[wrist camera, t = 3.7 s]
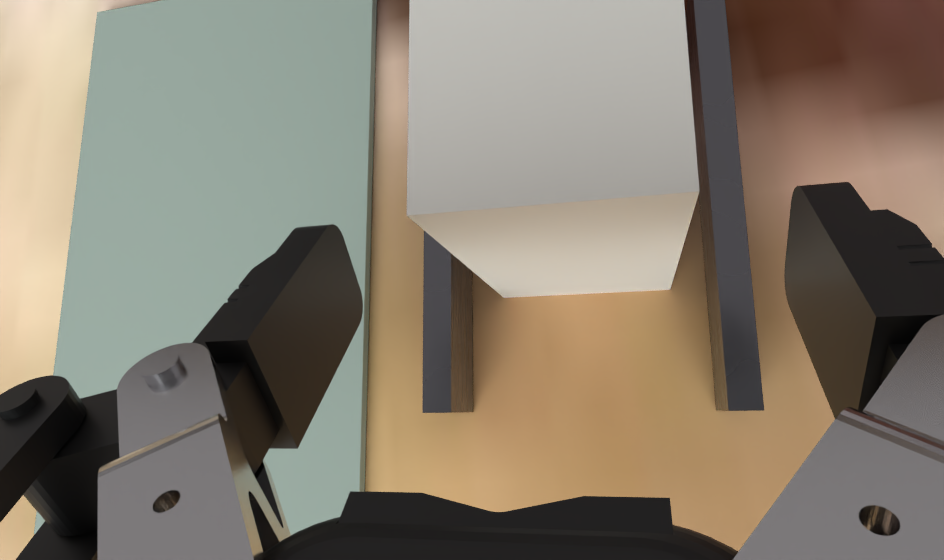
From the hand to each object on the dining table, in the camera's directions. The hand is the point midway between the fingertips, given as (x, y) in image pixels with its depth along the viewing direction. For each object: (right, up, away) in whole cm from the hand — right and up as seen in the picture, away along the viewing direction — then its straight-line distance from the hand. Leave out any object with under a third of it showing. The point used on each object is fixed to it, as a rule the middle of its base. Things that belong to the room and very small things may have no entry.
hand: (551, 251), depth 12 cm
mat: (-11, +1, +11) cm, 16 cm away
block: (+2, +2, +8) cm, 9 cm away
